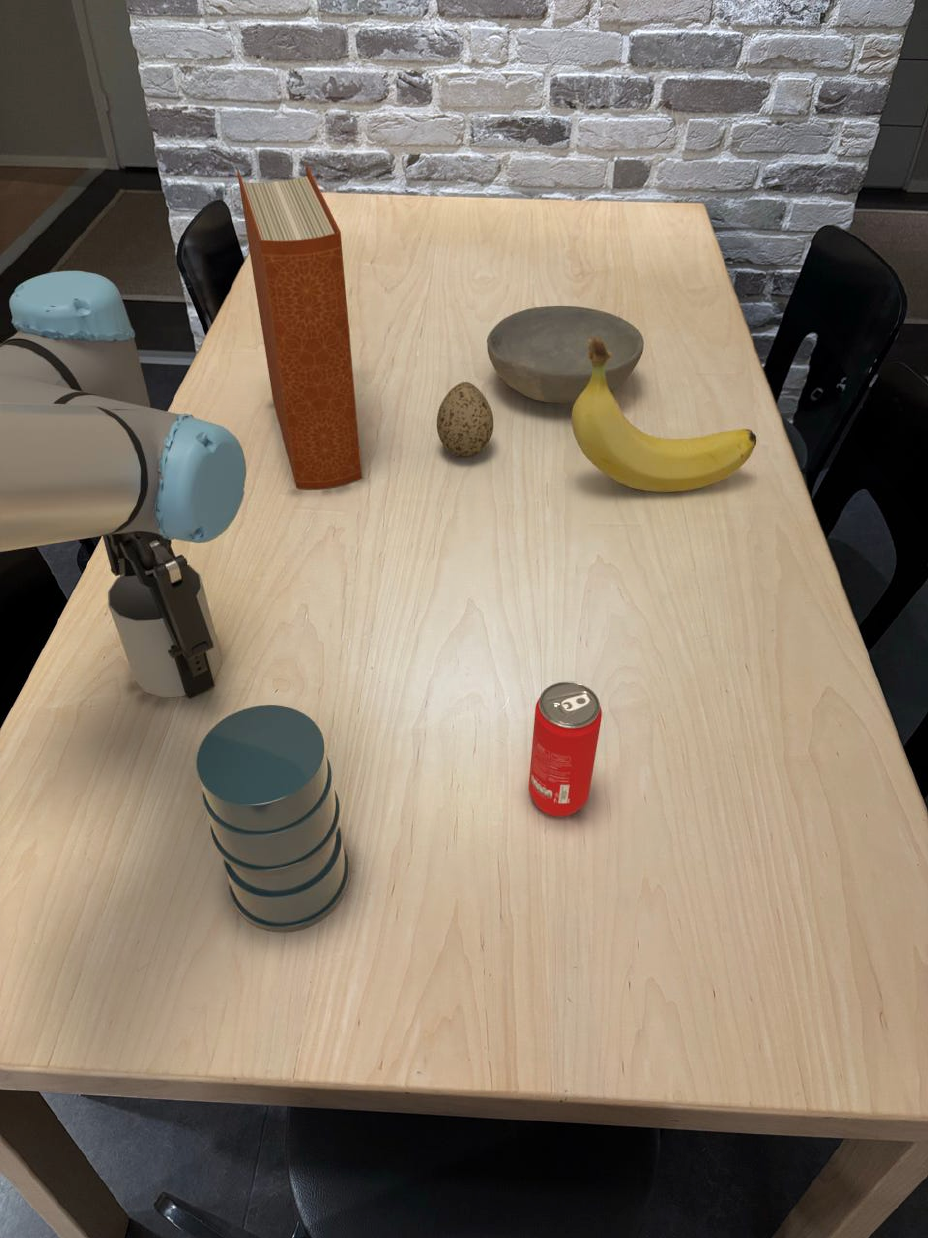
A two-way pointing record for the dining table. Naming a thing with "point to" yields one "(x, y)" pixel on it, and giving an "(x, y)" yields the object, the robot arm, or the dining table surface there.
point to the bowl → (561, 350)
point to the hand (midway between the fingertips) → (177, 663)
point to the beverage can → (564, 747)
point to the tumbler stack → (274, 816)
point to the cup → (154, 635)
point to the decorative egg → (465, 420)
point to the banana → (649, 442)
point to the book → (304, 327)
